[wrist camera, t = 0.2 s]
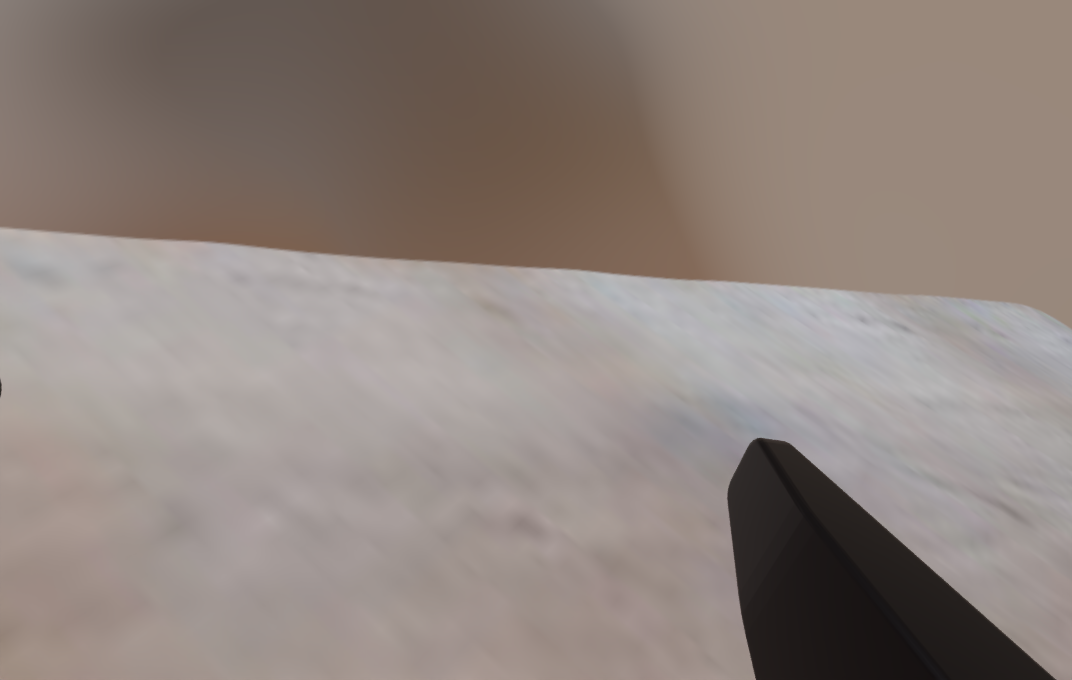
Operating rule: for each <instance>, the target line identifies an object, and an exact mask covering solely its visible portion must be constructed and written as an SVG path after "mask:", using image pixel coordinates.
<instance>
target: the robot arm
mask: <svg viewBox="0 0 1072 680" xmlns="http://www.w3.org/2000/svg"><path fill="white" fill-rule="evenodd" d="M1 391H2V386H1V380H0V396H1ZM727 499H728V509H729V518H730V526H731V535H732V543H733V552H734V560H735V569H736V577H737V586H738V594H739V601H740V608H741V615H742V619H743V624H744V629H745V634H746V639H747V643H748V647H749V652H750V656H751V660H752V665H753V669H754V673H755V678H756V680H1056V679H1055V678H1054V677H1052V676H1051V675H1050V674H1049V673H1048V672H1047V671H1046V670H1045V669H1043V668H1042V667H1041V666H1040V665H1039V664H1038V663H1037V662H1036V661H1034V660H1033V659H1032V658H1031V657H1030V656H1029V655H1028V654H1027V653H1025V652H1024V651H1023V650H1022V649H1021V648H1020V647H1019V646H1018V645H1016V644H1015V643H1014V642H1013V641H1012V640H1011V639H1010V638H1009V637H1007V636H1006V635H1005V634H1004V633H1003V632H1002V631H1001V630H1000V629H998V628H997V627H996V626H995V625H994V624H993V623H992V622H990V621H989V620H988V619H987V618H986V617H985V616H984V615H983V614H981V613H980V612H979V611H978V610H977V609H976V608H975V607H974V606H972V605H971V604H970V603H969V602H968V601H967V600H966V599H965V598H963V597H962V596H961V595H960V594H959V593H958V592H957V591H956V590H954V589H953V588H952V587H951V586H950V585H949V584H948V583H947V582H945V581H944V580H943V579H942V578H941V577H940V576H939V575H938V574H936V573H935V572H934V571H933V570H932V569H931V568H930V567H929V566H927V565H926V564H925V563H924V562H923V561H922V560H921V559H920V558H918V557H917V556H916V555H915V554H914V553H913V552H912V551H910V550H909V549H908V548H907V547H906V546H905V545H904V544H903V543H901V542H900V541H899V540H898V539H897V538H896V537H895V536H894V535H892V534H891V533H890V532H889V531H888V530H887V529H886V528H885V527H883V526H882V525H881V524H880V523H879V522H878V521H877V520H876V519H874V518H873V517H872V516H871V515H870V514H869V513H868V512H867V511H865V510H864V509H863V508H862V507H861V506H860V505H859V504H858V503H856V502H855V501H854V500H853V499H852V498H851V497H850V496H849V495H847V494H846V493H845V492H844V491H843V490H842V489H841V488H840V487H838V486H837V485H836V484H835V483H834V482H833V481H832V480H830V479H829V478H828V477H827V476H826V475H825V474H824V473H823V472H821V471H820V470H819V469H818V468H817V467H816V466H815V465H814V464H812V463H811V462H810V461H809V460H808V459H807V458H806V457H805V456H803V455H802V454H801V453H800V452H799V451H798V450H797V449H796V448H794V447H793V446H792V445H791V444H789V443H787V442H785V441H779V440H772V439H765V438H757V439H755V440H753V441H752V442H751V443H750V444H749V446H748V448H747V450H746V452H745V454H744V455H743V457H742V459H741V461H740V463H739V465H738V467H737V469H736V471H735V473H734V475H733V477H732V479H731V481H730V484H729V488H728V497H727Z"/></svg>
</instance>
